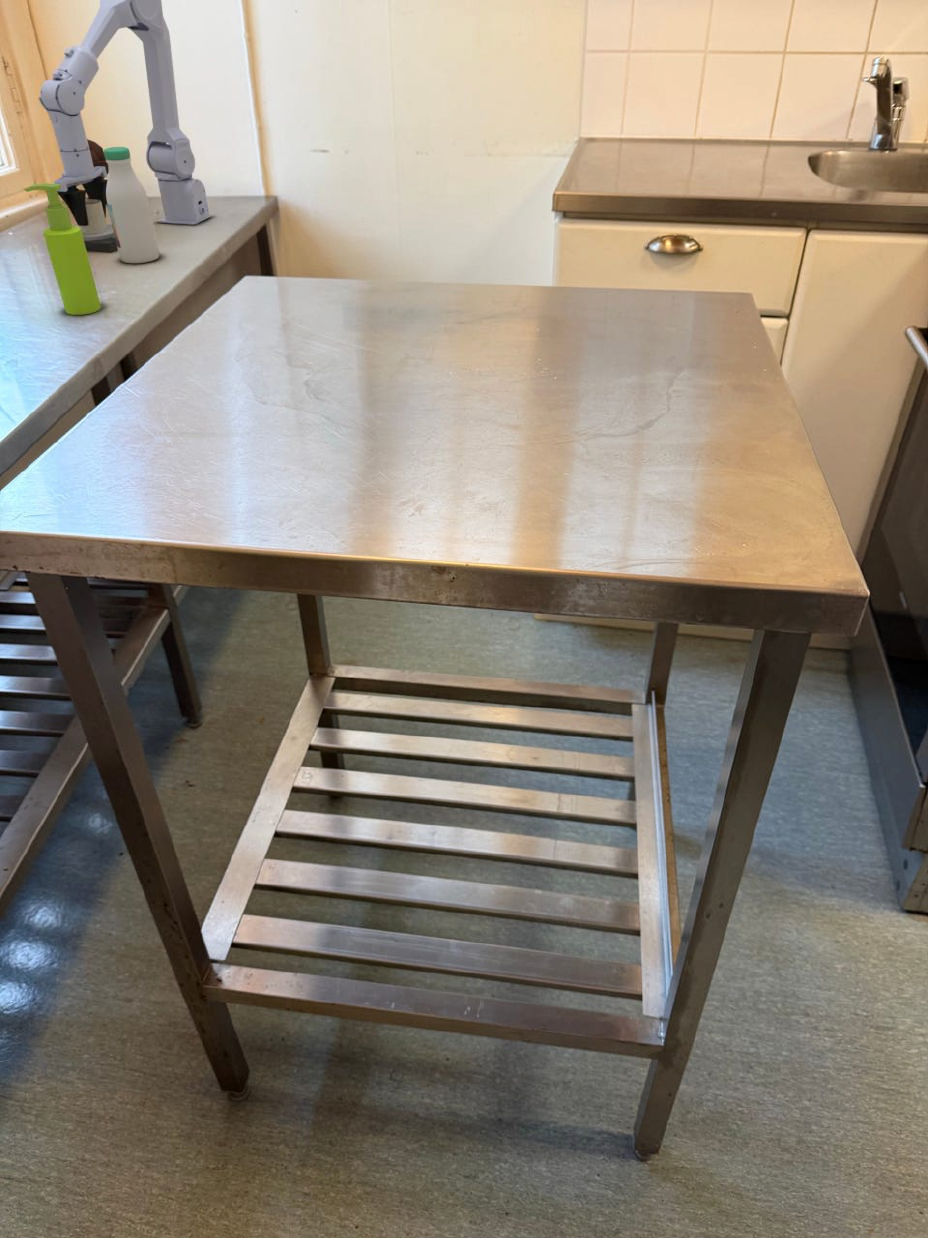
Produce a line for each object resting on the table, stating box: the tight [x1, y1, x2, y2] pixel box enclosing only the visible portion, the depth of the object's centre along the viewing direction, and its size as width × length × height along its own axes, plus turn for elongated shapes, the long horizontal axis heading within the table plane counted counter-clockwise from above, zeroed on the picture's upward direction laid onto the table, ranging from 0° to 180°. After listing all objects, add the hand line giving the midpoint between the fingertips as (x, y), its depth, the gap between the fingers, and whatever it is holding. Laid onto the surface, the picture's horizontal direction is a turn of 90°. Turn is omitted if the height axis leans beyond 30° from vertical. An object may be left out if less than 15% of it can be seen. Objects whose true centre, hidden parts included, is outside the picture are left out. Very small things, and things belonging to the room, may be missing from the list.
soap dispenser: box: [24, 182, 102, 316], centre depth 150 cm, size 6×7×20 cm
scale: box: [82, 224, 118, 254], centre depth 189 cm, size 13×11×3 cm
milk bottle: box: [103, 146, 160, 264], centre depth 174 cm, size 8×8×20 cm
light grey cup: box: [78, 198, 108, 234], centre depth 187 cm, size 6×6×6 cm
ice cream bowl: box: [86, 138, 109, 204], centre depth 216 cm, size 11×11×15 cm
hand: (92, 221), depth 187 cm, fingers closed on light grey cup, 6 cm apart
